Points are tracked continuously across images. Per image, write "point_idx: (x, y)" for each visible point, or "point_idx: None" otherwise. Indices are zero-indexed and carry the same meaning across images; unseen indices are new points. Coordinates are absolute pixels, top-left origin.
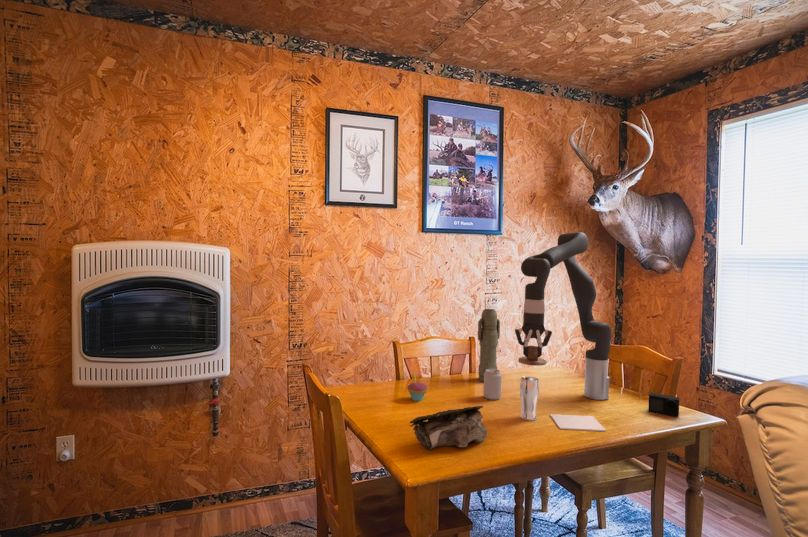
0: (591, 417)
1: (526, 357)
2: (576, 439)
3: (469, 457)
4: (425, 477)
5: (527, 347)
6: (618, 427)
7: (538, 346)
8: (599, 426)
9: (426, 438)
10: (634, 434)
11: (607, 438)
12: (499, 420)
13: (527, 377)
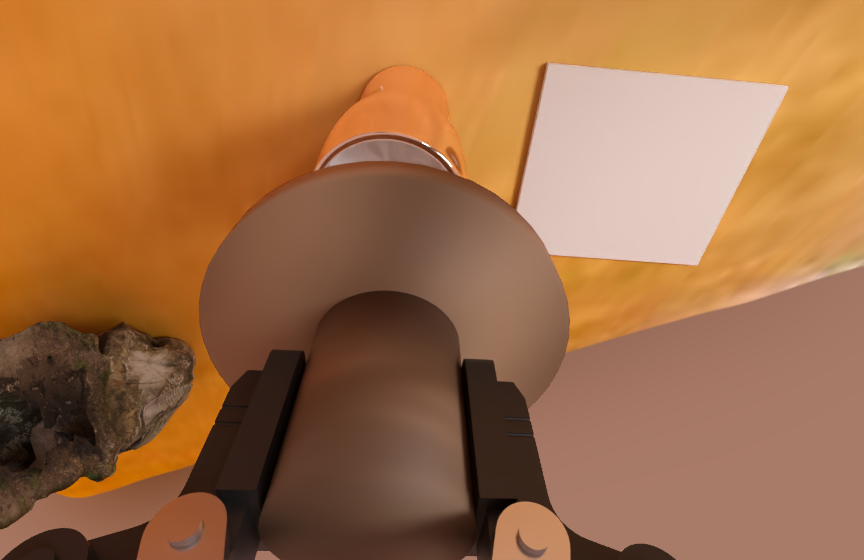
0: (762, 109)
1: (329, 228)
2: None
3: (169, 431)
4: (94, 493)
5: (262, 548)
6: (793, 216)
7: (482, 549)
8: (701, 229)
9: (11, 454)
10: (788, 281)
11: (646, 317)
12: (243, 158)
13: (382, 137)
